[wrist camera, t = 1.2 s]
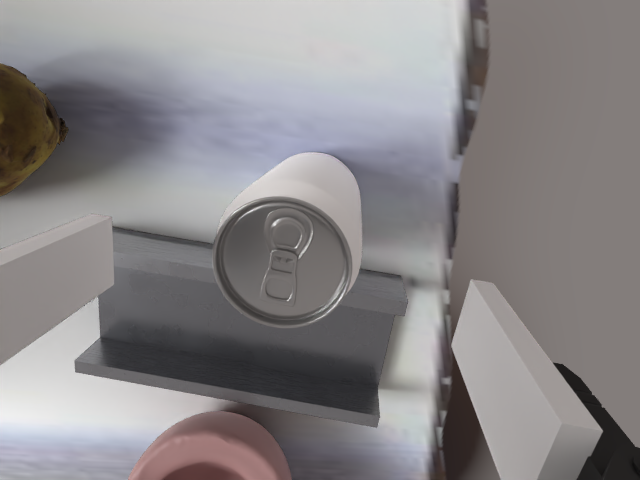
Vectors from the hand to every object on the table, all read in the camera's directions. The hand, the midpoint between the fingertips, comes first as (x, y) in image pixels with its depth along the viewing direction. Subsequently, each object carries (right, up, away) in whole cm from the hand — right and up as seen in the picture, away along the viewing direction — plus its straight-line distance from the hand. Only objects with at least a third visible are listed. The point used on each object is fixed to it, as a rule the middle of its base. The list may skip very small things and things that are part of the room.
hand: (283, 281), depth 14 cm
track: (-4, -4, +16) cm, 17 cm away
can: (+1, +4, +13) cm, 13 cm away
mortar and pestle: (-6, -16, +20) cm, 26 cm away
